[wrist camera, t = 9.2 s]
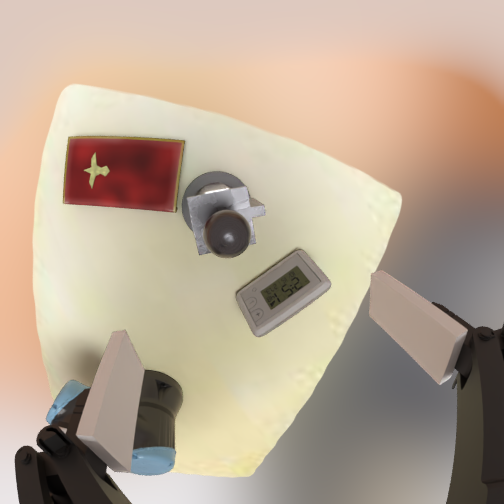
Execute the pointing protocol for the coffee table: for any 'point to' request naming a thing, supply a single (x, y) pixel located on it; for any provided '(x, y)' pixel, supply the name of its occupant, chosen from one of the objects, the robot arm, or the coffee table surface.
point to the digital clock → (282, 292)
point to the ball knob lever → (227, 234)
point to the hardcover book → (123, 172)
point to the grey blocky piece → (221, 208)
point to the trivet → (201, 182)
